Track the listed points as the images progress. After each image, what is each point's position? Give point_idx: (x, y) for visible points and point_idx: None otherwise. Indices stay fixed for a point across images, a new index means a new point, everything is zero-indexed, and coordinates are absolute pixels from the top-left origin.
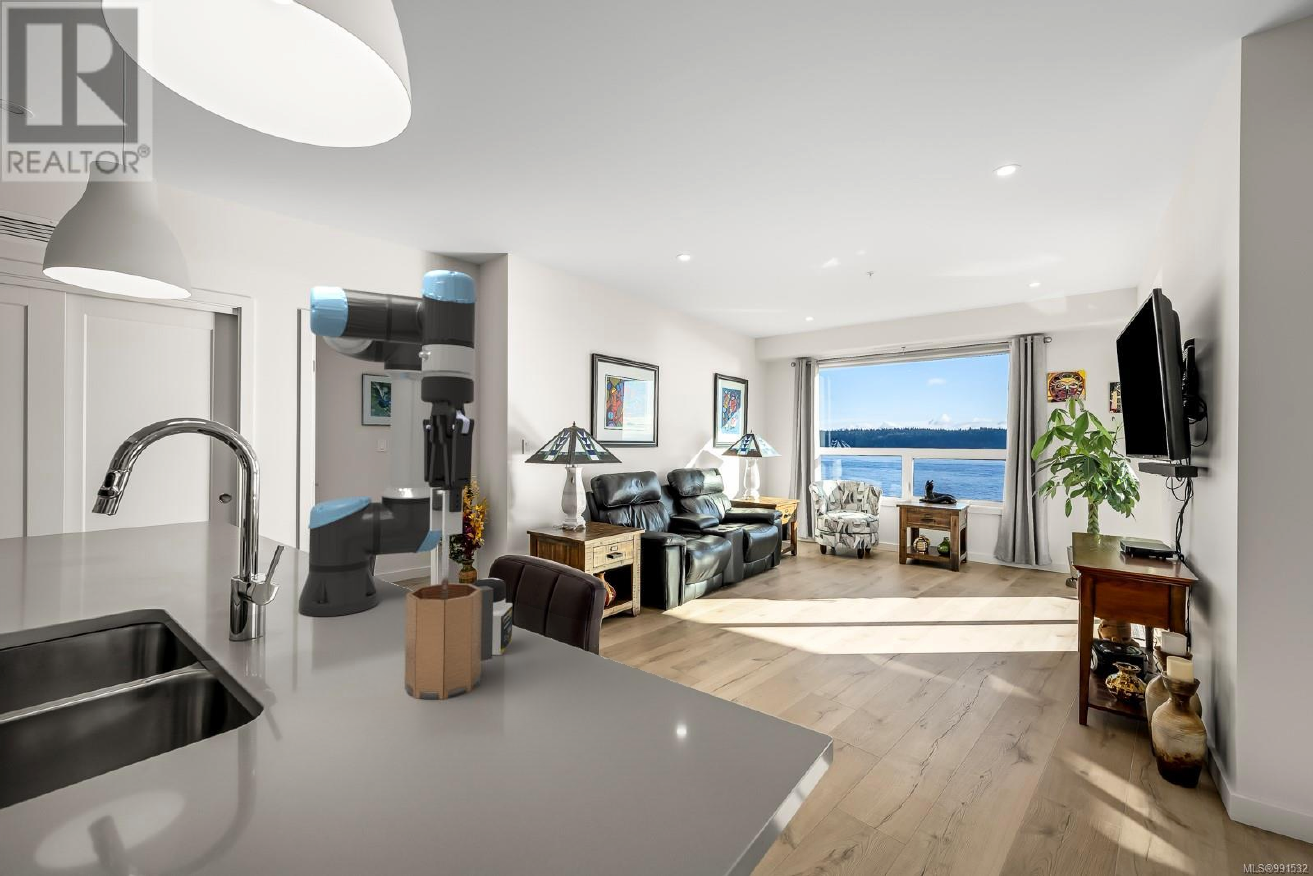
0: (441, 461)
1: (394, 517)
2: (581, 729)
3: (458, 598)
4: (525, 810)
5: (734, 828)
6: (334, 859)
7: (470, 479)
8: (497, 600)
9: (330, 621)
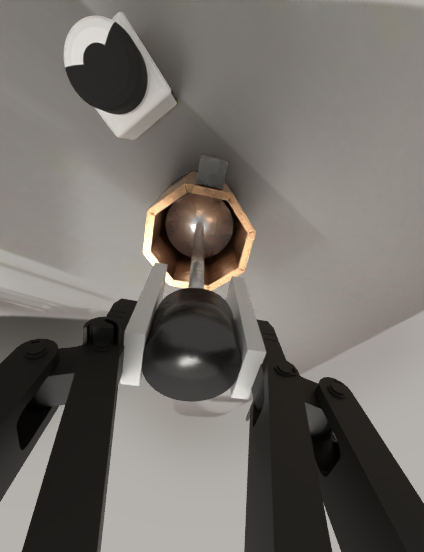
0: (106, 480)
1: None
2: (383, 190)
3: (247, 252)
4: (396, 287)
5: None
6: (330, 356)
7: (358, 404)
8: (147, 78)
9: None
